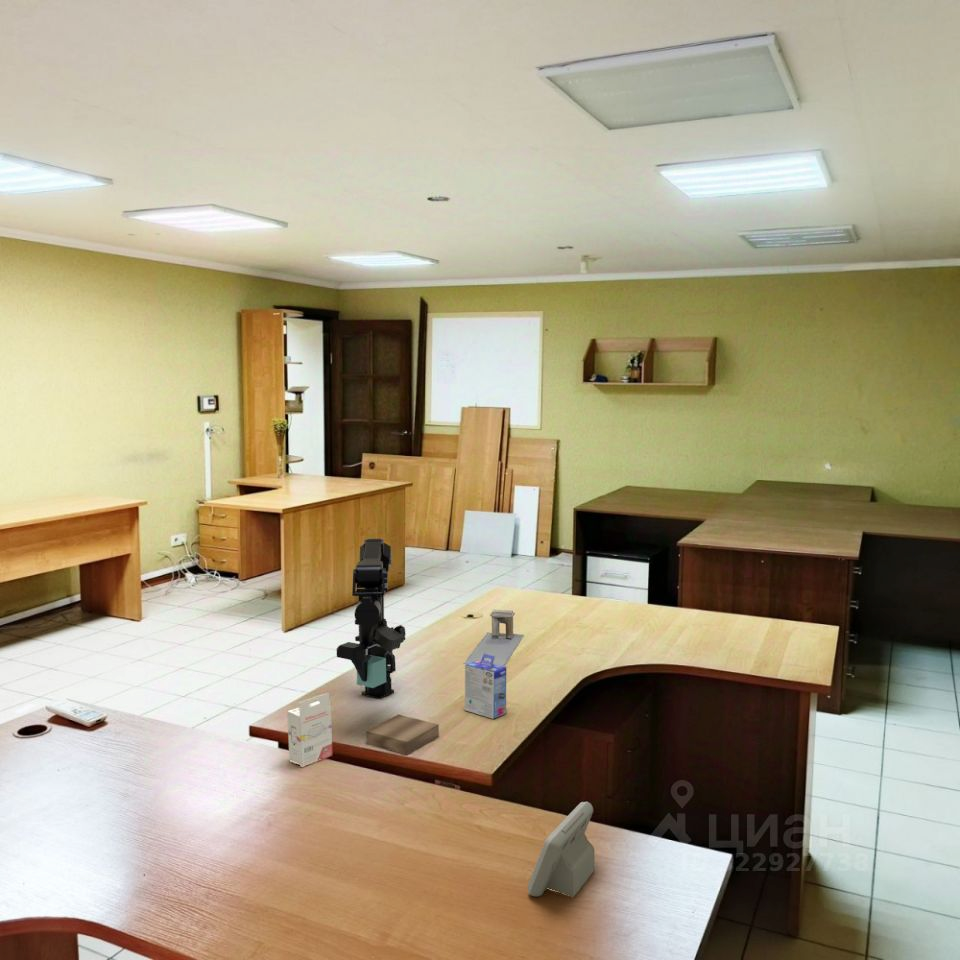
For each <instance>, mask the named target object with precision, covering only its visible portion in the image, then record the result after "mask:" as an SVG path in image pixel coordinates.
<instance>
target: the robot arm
mask: <svg viewBox="0 0 960 960" xmlns="http://www.w3.org/2000/svg"><path fill="white" fill-rule="evenodd" d="M363 542H364V543H363V544H362V545H360V546H359V558H358V559H359V561H358V562H357V563H356V566H355V568H354V569H353V571H352V593H351V596H352V597H357V604H356V606H355V607H356V608H355V610H354V625H357V626H358V635H357V636H354V639H355V640H354V641H355V642H359V643H355V642H351V641H348V642H345V643H342V644H340V645H338V646H337V648H336V658H341V659H344V660H349V661H351V663H352V665H353V666H354V668H355V670H356V673H357V672H358V674H359V676H360V678H361V679H362V681H364V682H366V681H367V668H368V660H369V659H370V658H371V657H372V656H370V655H373V656H378V657H382V658H386V682H385V683H383V684H381V685H379V686H376V687H374V688H371V687H366V686H364V687H365V688H364V689H365V690H364V691H362V692H361V695H363V696H367V697H371V698H375V699H382V698H384V697H387V696H389V695H390V694H393V693H394V692H395V689H393V688H392V677H391V674H393V673H394V672H396V657H395V655H394V653H393V651H395V650H399V648H400V647H401V644H402V643H404V641H405V640H406V627H405V626H403V625H401V624H400V625H397V626H396V627H395V626H394V627H393V626H392V627H389V626H388V621H387V619H386V618H385V595H386V592H387V591H388V581H389V575H388V574H389V573H390V565H392V564H393V555H392V553H393V552H392V546H391V545H389V544H387V543H386V542H385V541H384V539H382V538H366V539H364V540H363Z"/></svg>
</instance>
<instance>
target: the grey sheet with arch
mask: <svg viewBox="0 0 960 960" xmlns="http://www.w3.org/2000/svg"><path fill="white" fill-rule="evenodd" d="M515 614H516V613H515V612H514V610H511V609H510V610H508V609H493V610H492V611H491V613H490V614H489V615H490V617H491V632H486V634H485V635H484V636H483V638H481V640H480V641H479V643H478V644H477V645H476V647H475V648H474V649H473V650H472V652H471V653H470V654H469V655H468V657H467V658H466V659H465V661H463V664H464V665H466V664H469V663H471V662H474V661H481V660H482V657H483V655H484V654H487V655H491V656H495V658H494V661H493V664H495V665H500V666H504V667H506V665H507V663H508V662H509V660H510V658H511V657H512V655H513V653H514V652H515V650H516V649H517V647H518V646H519V644H520V642H521V641H522V640H523V637H524V636H525V635H524V634H523V633H522V634H520V633H514V616H515ZM500 624H504V625H505V633H504V632H503V633H502V632H501V633H500ZM484 660H486V661H490V662H491V659H490V658H484Z"/></svg>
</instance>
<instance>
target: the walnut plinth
mask: <svg viewBox="0 0 960 960" xmlns="http://www.w3.org/2000/svg"><path fill="white" fill-rule="evenodd" d="M439 725H440V724H439V723H435V722H431V721H426V720H422V719H419V718H414V717H411V716H406V715H402V714H397V715H395V716H392V717H391V718H389V719H386V720H385V721H383V722H380V723H379V724H377V725H375V726H373V727H371V728H369V729H367V730H366V731H365V735H366V737H365V740H366V744H367V745H371V746H375V747H378V748H381V749H385V750H389V751H392V752H395V753H398V754H399V753H400V754H403V755H406V756H408V755H410V754H411V753H413V752H415V751H417V750H419V749H421V748H422V747H423V746H426V745H427V744H429V743H430V742H432V741H434V740H436V739H438V738H439V737H440V732H439V730H440V726H439Z"/></svg>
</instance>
